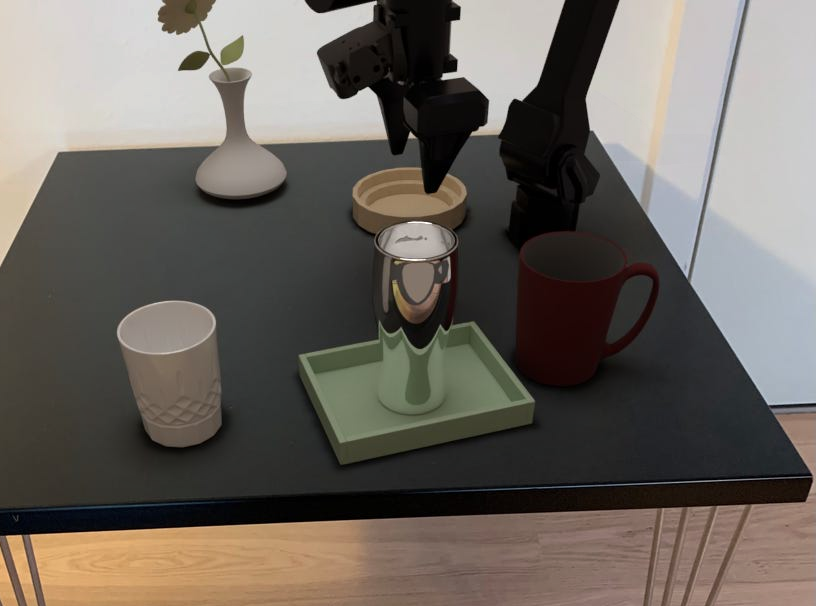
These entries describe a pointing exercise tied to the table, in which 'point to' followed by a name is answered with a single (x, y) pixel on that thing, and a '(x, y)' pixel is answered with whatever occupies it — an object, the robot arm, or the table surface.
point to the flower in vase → (238, 154)
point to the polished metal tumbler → (414, 312)
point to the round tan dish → (406, 200)
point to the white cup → (174, 370)
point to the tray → (394, 432)
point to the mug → (571, 305)
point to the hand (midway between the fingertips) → (413, 172)
